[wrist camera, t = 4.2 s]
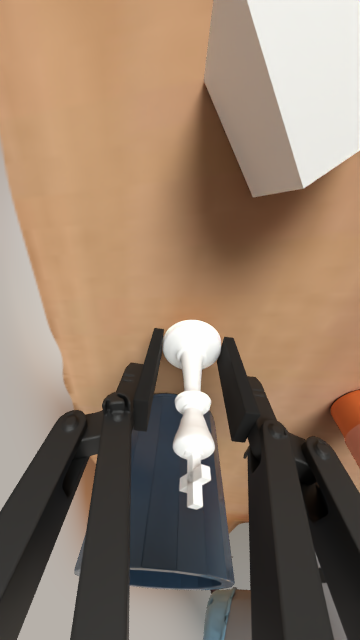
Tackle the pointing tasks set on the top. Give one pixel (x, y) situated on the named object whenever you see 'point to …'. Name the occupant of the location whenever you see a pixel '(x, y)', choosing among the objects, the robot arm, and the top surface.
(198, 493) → the chess piece
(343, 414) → the cup with straw
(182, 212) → the top surface
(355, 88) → the white cube
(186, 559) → the tin
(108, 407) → the robot arm
